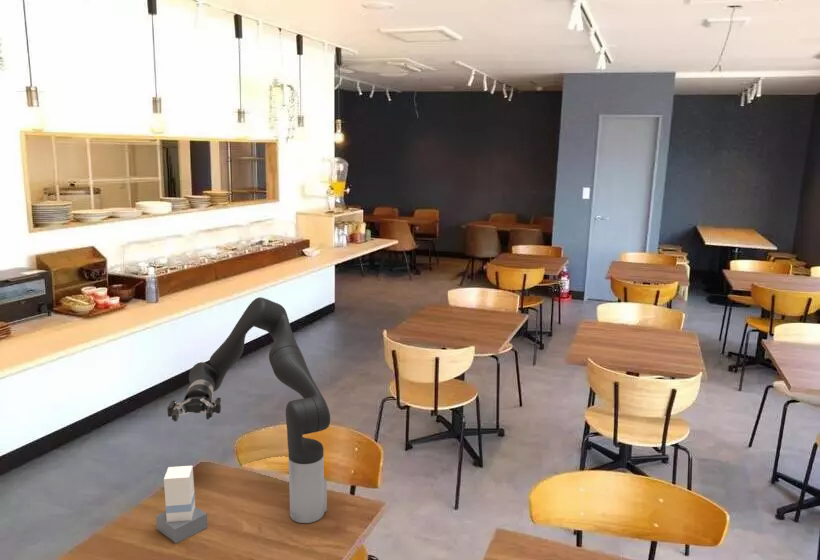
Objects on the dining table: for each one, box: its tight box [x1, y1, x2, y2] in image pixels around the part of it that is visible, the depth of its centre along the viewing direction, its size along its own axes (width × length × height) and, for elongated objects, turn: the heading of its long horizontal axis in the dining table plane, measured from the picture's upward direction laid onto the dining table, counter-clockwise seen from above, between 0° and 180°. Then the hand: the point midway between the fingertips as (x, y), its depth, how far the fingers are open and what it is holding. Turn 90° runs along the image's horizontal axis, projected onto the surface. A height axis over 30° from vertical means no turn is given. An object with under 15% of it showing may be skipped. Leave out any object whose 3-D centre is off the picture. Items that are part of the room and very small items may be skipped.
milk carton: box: [163, 465, 196, 522], centre depth 163 cm, size 6×6×12 cm
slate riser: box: [155, 505, 208, 544], centre depth 165 cm, size 9×9×4 cm
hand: (191, 417), depth 174 cm, fingers open, 8 cm apart
